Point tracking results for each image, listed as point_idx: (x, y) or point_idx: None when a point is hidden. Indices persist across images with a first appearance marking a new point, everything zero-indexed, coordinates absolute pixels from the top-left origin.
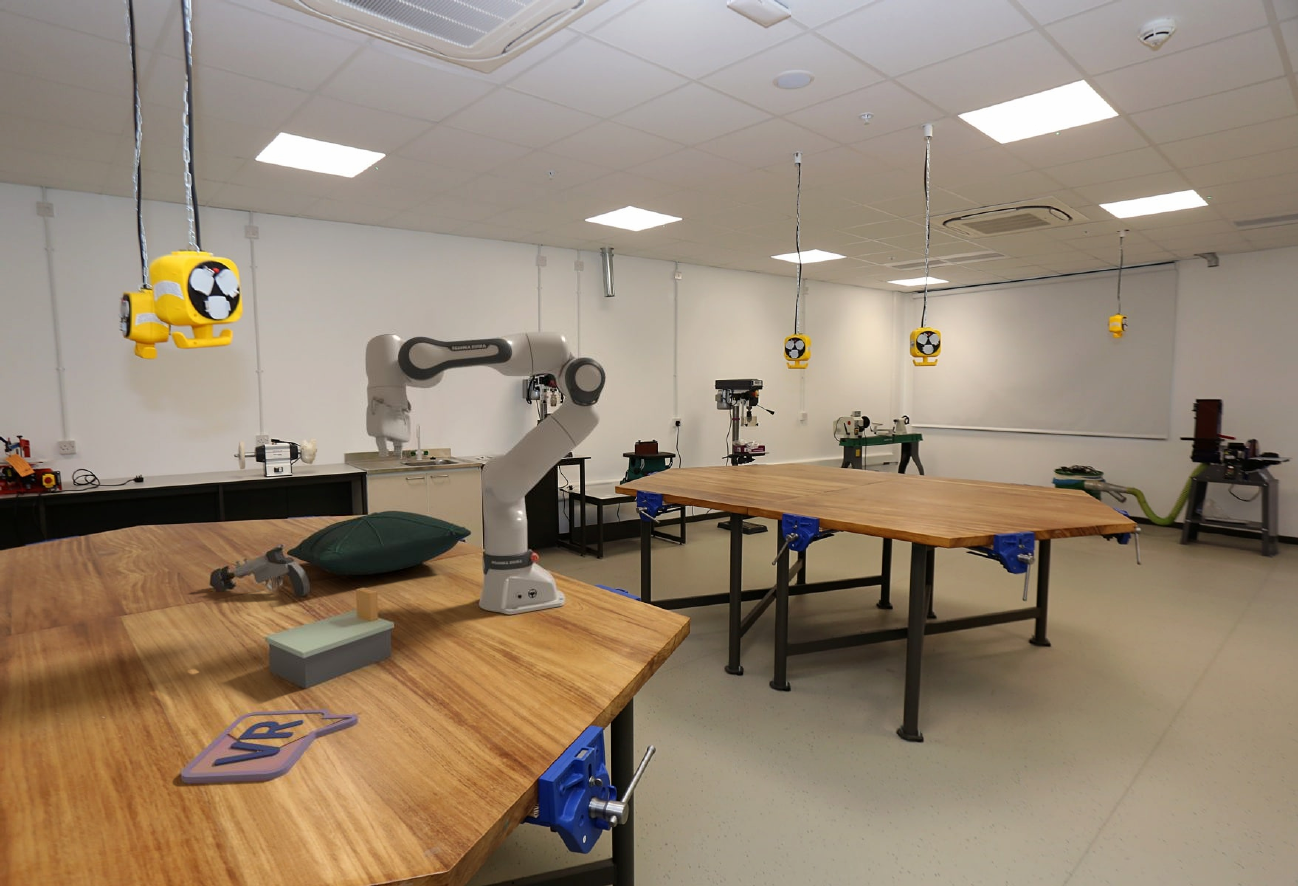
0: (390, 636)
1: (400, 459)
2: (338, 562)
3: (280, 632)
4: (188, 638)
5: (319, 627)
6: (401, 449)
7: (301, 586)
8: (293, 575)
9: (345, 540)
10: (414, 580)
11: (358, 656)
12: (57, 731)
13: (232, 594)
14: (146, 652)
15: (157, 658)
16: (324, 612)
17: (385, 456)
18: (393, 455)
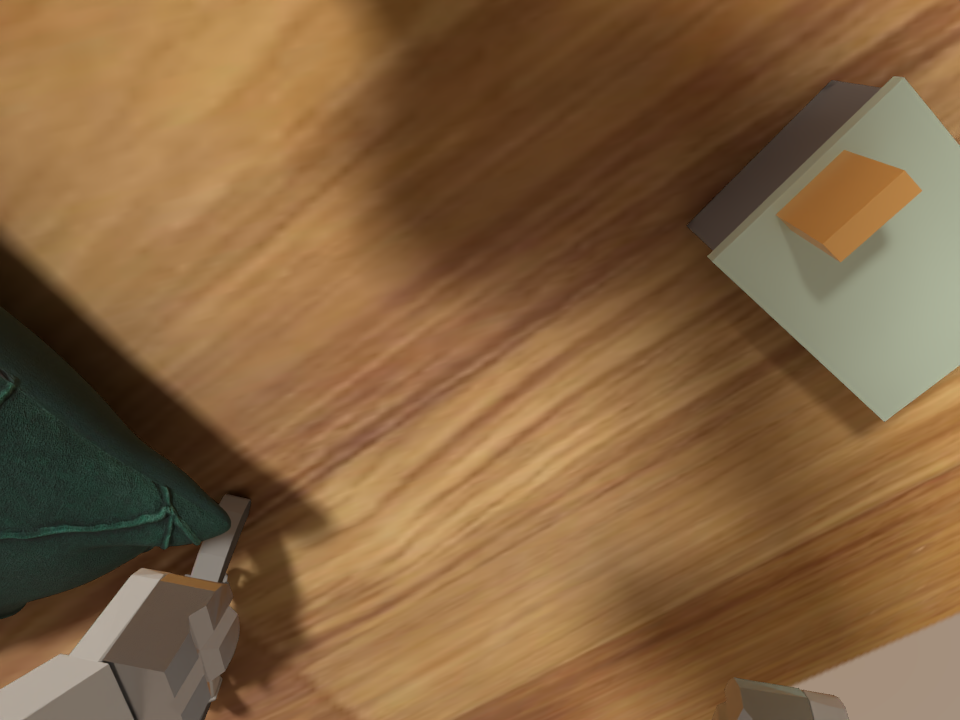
0: (873, 87)
1: (168, 573)
2: (188, 477)
3: (863, 397)
4: (548, 598)
5: (860, 311)
6: (49, 704)
7: (242, 520)
8: (227, 563)
9: (83, 520)
10: (8, 216)
11: None
12: (950, 579)
13: (241, 644)
14: (617, 626)
15: (655, 597)
16: (384, 399)
17: (817, 695)
18: (206, 688)
